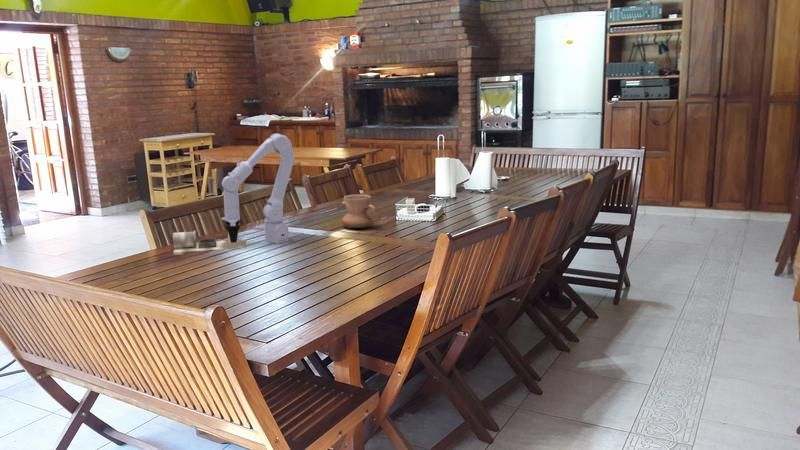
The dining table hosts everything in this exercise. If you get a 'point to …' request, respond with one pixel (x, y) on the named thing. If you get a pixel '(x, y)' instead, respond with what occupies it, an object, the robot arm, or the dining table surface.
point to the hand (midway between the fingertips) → (233, 240)
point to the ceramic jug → (358, 211)
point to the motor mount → (200, 243)
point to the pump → (235, 242)
